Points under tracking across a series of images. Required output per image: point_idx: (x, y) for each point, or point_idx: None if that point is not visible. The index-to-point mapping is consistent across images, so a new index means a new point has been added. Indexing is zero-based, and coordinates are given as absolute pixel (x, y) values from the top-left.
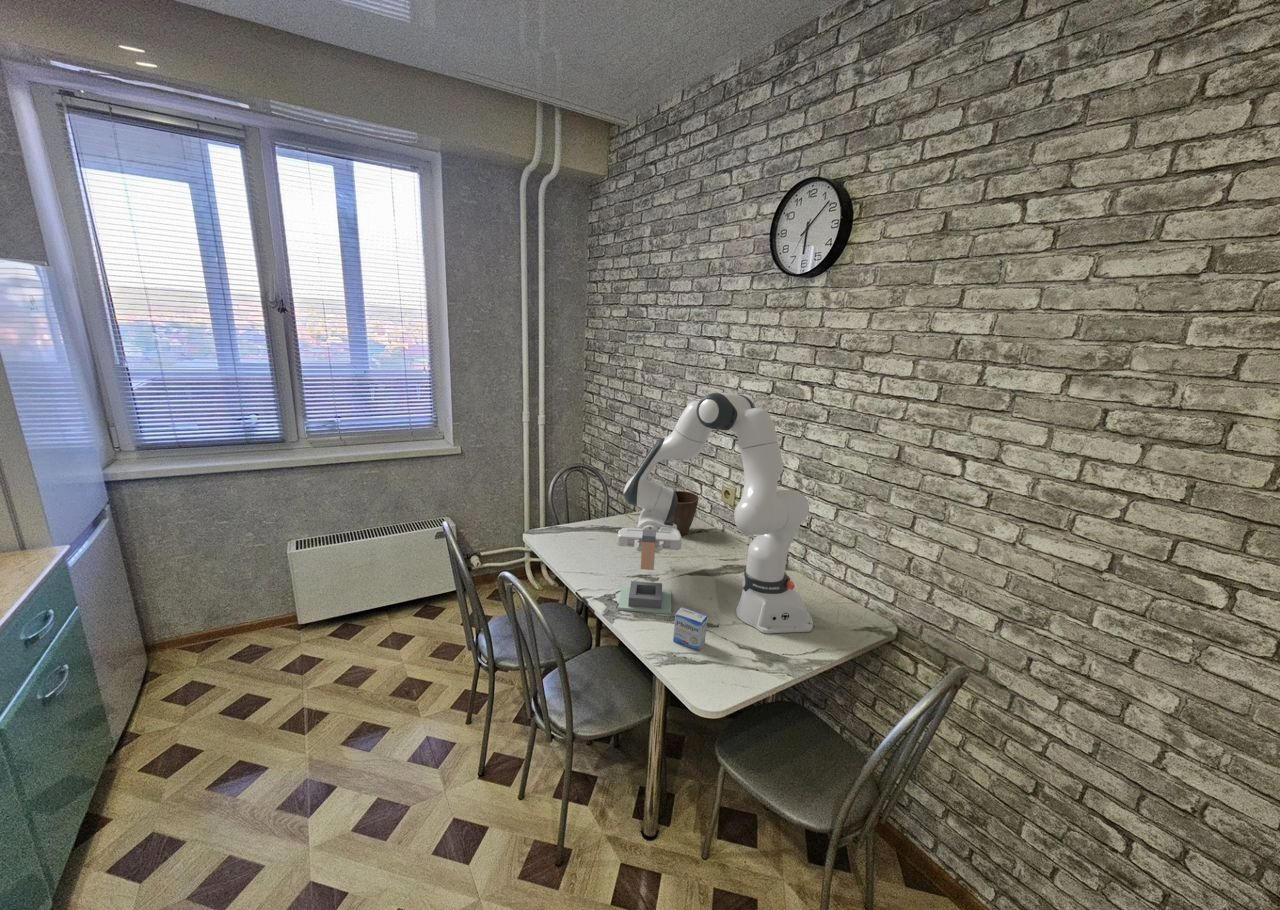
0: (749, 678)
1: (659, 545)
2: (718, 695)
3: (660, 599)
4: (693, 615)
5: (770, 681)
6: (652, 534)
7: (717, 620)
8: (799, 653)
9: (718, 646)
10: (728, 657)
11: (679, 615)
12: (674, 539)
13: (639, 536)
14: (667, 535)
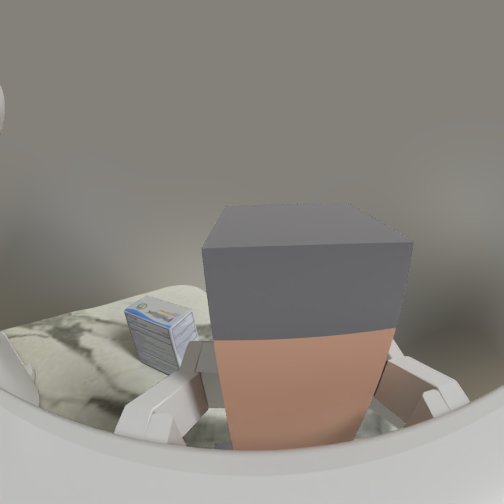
0: (116, 310)
1: (183, 369)
2: (166, 294)
3: (219, 445)
4: (153, 307)
5: (96, 308)
6: (259, 214)
7: (81, 415)
8: (29, 336)
9: (121, 354)
10: (120, 336)
11: (184, 307)
12: (6, 395)
13: (458, 424)
14: (16, 495)
